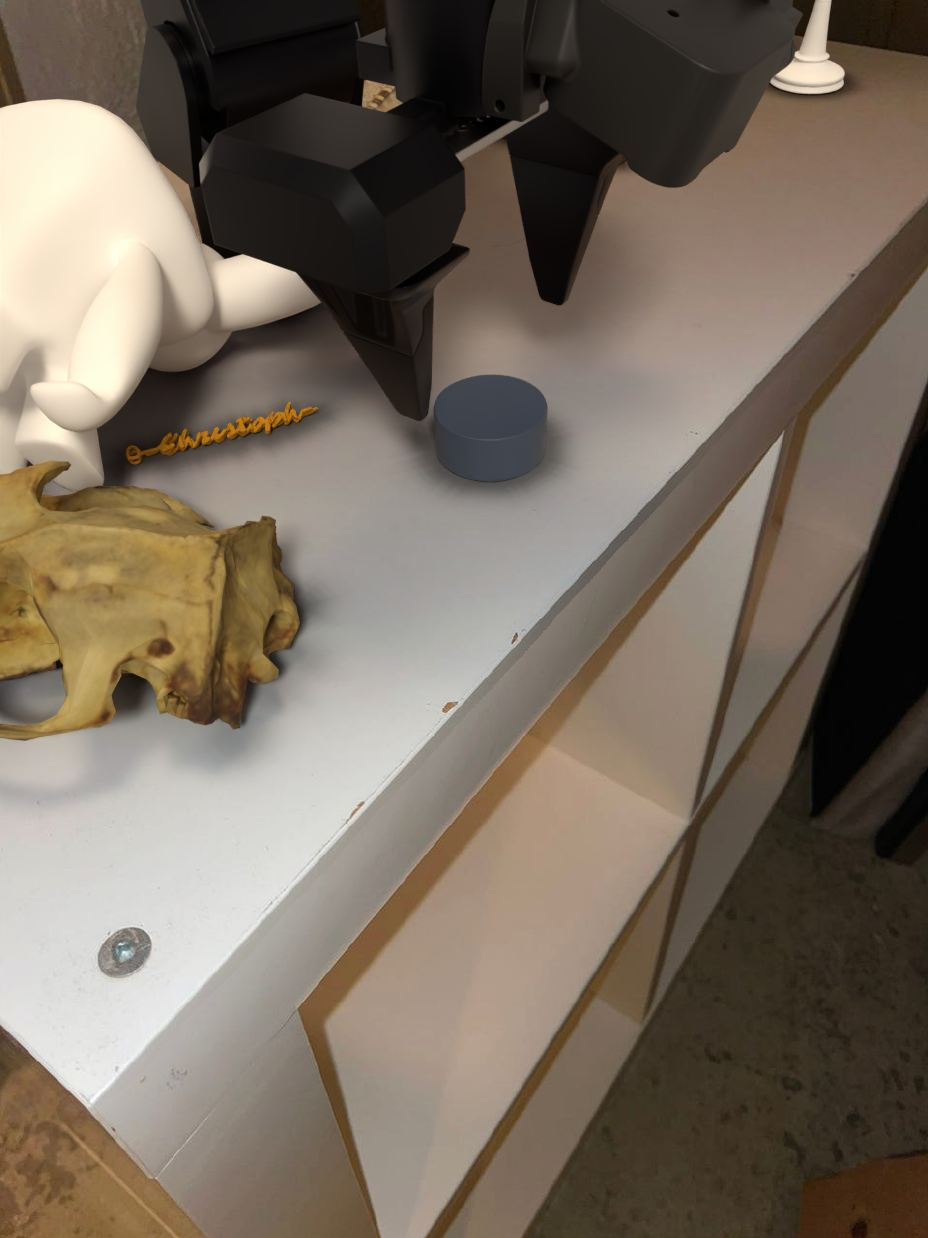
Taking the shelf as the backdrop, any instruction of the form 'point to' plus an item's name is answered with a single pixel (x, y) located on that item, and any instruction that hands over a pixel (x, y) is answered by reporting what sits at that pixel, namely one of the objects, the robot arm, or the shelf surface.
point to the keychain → (218, 437)
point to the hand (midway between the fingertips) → (488, 354)
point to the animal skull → (135, 600)
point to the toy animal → (103, 283)
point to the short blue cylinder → (490, 427)
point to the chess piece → (812, 59)
